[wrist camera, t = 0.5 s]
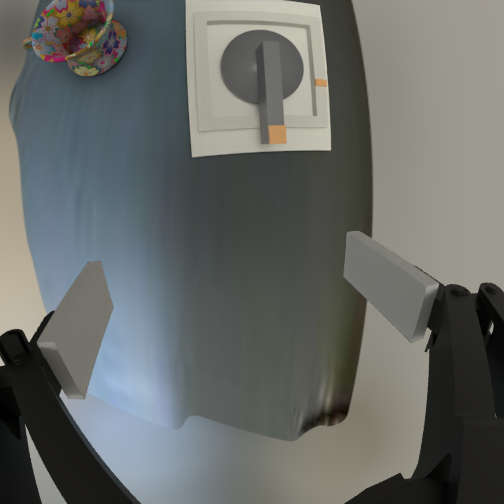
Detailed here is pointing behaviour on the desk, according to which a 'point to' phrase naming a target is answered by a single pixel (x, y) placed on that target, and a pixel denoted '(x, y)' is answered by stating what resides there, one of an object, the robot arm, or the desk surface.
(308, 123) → the panel
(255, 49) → the dial
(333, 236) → the desk surface
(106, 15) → the mug
